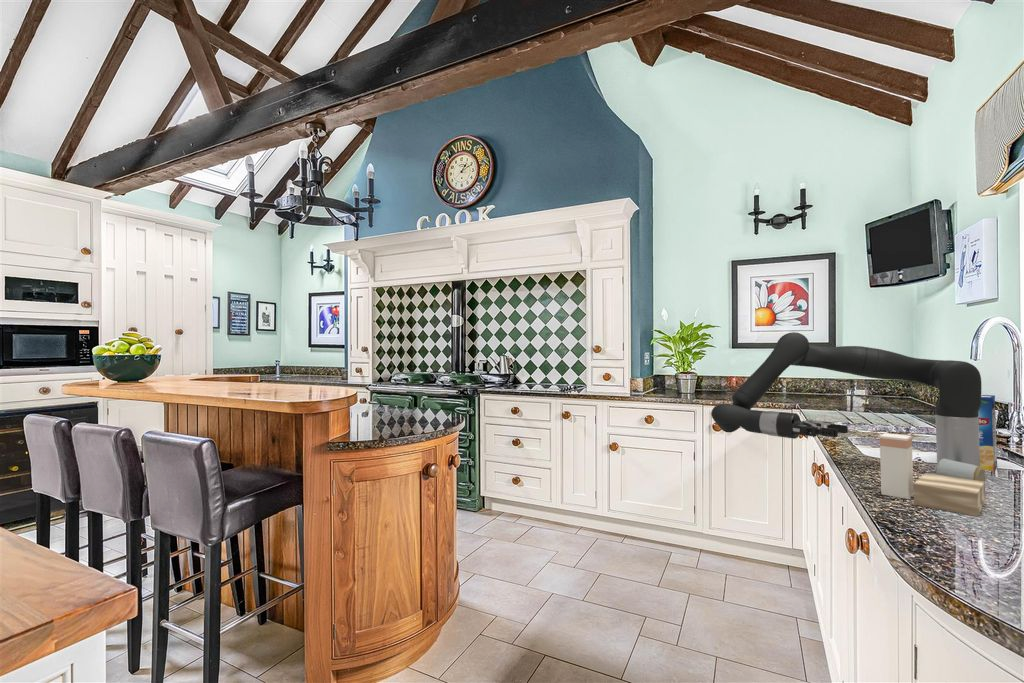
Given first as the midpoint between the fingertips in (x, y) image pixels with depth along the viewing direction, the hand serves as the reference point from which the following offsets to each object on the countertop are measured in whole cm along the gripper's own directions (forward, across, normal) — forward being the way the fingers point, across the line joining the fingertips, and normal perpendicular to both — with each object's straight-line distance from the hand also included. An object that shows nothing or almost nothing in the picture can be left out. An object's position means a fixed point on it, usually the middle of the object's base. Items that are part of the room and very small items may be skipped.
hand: (842, 431), depth 131 cm
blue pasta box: (+20, +50, +14) cm, 56 cm away
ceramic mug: (+22, +17, +15) cm, 31 cm away
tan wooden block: (+22, 0, +14) cm, 26 cm away
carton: (+12, 0, +15) cm, 19 cm away
